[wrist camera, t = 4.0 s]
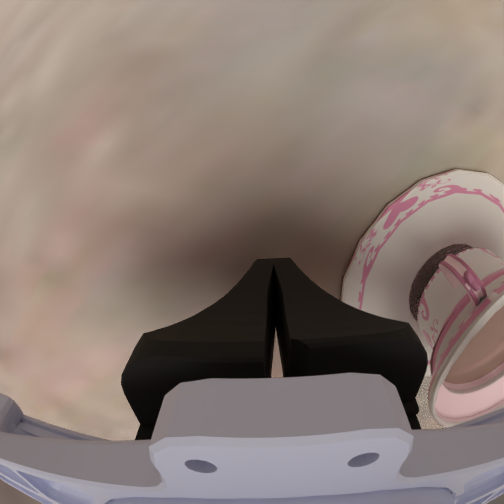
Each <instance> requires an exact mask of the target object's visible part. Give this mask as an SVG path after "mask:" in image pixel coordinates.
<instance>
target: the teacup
mask: <svg viewBox="0 0 504 504" xmlns="http://www.w3.org/2000/svg"><path fill="white" fill-rule="evenodd" d="M453 244H466V245H468V246H470V247H472V248H470V249H467V250H464V251H462V252H460V253H458V254H456V255H454V254H448V255H447V256H446V258H445V260H444V261H442V262H440V263H439V264H438V266H439V268H438V269H437V270H436V272H435V273H434V274H433V276H432V278H431V279H430V281H429V283H428V284H427V286H426V288H425V290H424V292H423V294H422V297H421V299H420V302H419V306H418V313H417V320H418V321H417V320H415V318H414V317H413V315H412V313H411V311H410V304H409V296H410V291H411V286H412V283H413V281H414V279H415V277H416V275H417V273H418V271H419V270H420V269H421V268H422V266H423V265H424V264H425V263H426V261H427V260H428V259H429V258H430V257H432V256H433V255H434V254H436V253H437V252H438V251H439V250H441V249H443V248H446V247H448V246H451V245H453ZM341 301H342V302H344V303H346V304H348V305H350V306H352V307H355V308H357V309H359V310H362V311H365V312H367V313H370V314H374V315H377V316H380V317H384V318H388V319H393V320H398V321H403V322H407V323H409V324H410V325H411V327H412V328H413V330H414V331H415V332H416V334H417V335H418V337H419V339H420V341H421V343H422V345H423V346H424V348H425V350H426V352H427V356H428V366H427V370H426V373H425V376H424V377H427V376H432V378H431V381H430V386H429V391H428V405H429V409H430V412H431V415H432V417H433V418H434V420H435V421H436V423H438V424H439V425H440V426H442V427H445V428H449V427H452V426H455V425H458V424H461V423H464V422H467V421H470V420H473V419H475V418H478V417H481V416H484V415H486V414H489V413H491V412H494V411H496V410H499V409H501V408H503V407H504V184H503V183H502V182H500V181H499V180H498V179H496V178H495V177H493V176H492V175H490V174H488V173H485V172H478V171H470V170H462V169H453V170H450V171H447V172H444V173H440V174H437V175H434V176H431V177H428V178H424V179H421V180H420V181H419V182H417V183H416V184H415V185H413V186H412V187H411V188H409V189H408V190H406V191H405V192H404V193H402V194H401V195H400V196H398V197H397V198H396V199H394V200H393V201H392V202H390V203H389V204H387V206H386V207H385V208H384V210H383V211H382V212H381V213H380V215H379V216H378V217H377V219H376V220H375V221H374V223H373V224H372V225H371V226H370V228H369V229H368V230H367V231H366V233H365V234H364V235H363V237H362V238H361V239H360V240H359V243H358V245H357V248H356V250H355V252H354V255H353V257H352V260H351V262H350V264H349V267H348V269H347V271H346V273H345V276H344V278H343V284H342V293H341Z"/></svg>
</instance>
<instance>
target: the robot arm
mask: <svg viewBox="0 0 504 504" xmlns="http://www.w3.org/2000/svg"><path fill="white" fill-rule="evenodd" d="M275 327H276V332H277V338H278V344H279V351H280V357H281V363H282V370H283V378H271V370H272V360H273V350H274V339H275ZM427 366H428V356H427V352H426V350H425V348H424V346H423V345H422V343H421V341H420V339H419V337H418V335H417V334H416V332H415V331H414V330H413V328H412V327H411V325H410V324H409V323H407V322H403V321H398V320H393V319H388V318H384V317H380V316H377V315H374V314H370V313H367V312H365V311H362V310H359V309H357V308H355V307H352V306H350V305H348V304H346V303H344V302H342V301H340V300H338V299H337V298H335V297H333V296H332V295H330V294H328V293H327V292H325V291H324V290H323V289H321V288H320V287H319V286H317V285H316V284H315V283H314V282H312V281H311V280H310V279H309V278H308V277H307V276H306V275H305V274H304V273H303V272H302V271H301V270H300V269H299V268H298V266H297V265H296V264H295V263H294V262H293V261H292V260H291V259H290V258H275V259H257V260H256V261H255V262H254V263H253V264H252V266H251V267H250V269H249V270H248V271H247V273H246V274H245V275H244V276H243V278H242V279H241V280H240V281H239V282H238V283H237V284H236V285H235V286H234V287H233V288H232V289H231V290H230V291H229V292H228V293H227V294H226V295H225V296H224V297H222V298H221V299H220V300H218V301H217V302H216V303H214V304H213V305H211V306H210V307H208V308H206V309H205V310H203V311H201V312H199V313H198V314H196V315H194V316H192V317H190V318H188V319H186V320H183V321H181V322H178V323H176V324H173V325H171V326H168V327H165V328H161V329H158V330H155V331H151V332H148V333H144V334H143V335H142V337H141V338H140V340H139V342H138V343H137V345H136V346H135V348H134V350H133V352H132V354H131V356H130V359H129V361H128V363H127V365H126V367H125V369H124V371H123V373H122V378H121V385H122V388H123V391H124V394H125V396H126V398H127V400H128V402H129V404H130V406H131V408H132V410H133V411H134V413H135V415H136V417H137V419H138V421H139V422H140V427H139V430H138V432H137V435H136V438H135V440H127V441H111V440H106V439H102V438H98V437H94V436H90V435H86V434H82V433H78V432H75V431H71V430H68V429H65V428H61V427H58V426H55V425H52V424H49V423H46V422H43V421H40V420H37V419H34V418H32V417H29V416H26V415H24V414H23V412H22V410H21V409H20V407H19V406H18V405H17V404H16V402H15V401H14V400H12V399H11V398H10V397H8V396H6V395H4V394H1V393H0V479H1V480H3V481H4V482H6V483H8V484H9V485H11V486H13V487H15V488H16V489H18V490H19V491H21V492H23V493H25V494H26V495H28V496H30V497H32V498H34V499H35V500H38V501H39V502H41V503H43V504H486V503H488V502H490V501H491V500H493V499H495V498H497V497H498V496H500V495H502V494H503V493H504V407H503V408H501V409H499V410H496V411H494V412H491V413H489V414H486V415H484V416H481V417H478V418H475V419H473V420H470V421H467V422H464V423H461V424H458V425H455V426H452V427H449V428H443V429H421V427H420V424H419V422H418V419H417V416H416V414H418V412H419V407H418V404H417V402H416V399H415V397H416V395H417V393H418V390H419V388H420V386H421V383H422V381H423V378H424V376H425V373H426V370H427Z"/></svg>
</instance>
